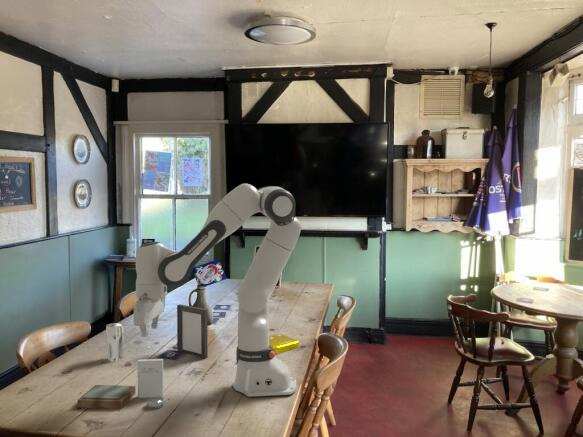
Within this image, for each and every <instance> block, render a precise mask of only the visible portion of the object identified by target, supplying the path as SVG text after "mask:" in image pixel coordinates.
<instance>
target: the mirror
mask: <svg viewBox="0 0 583 437" xmlns="http://www.w3.org/2000/svg"><path fill="white" fill-rule="evenodd" d="M135 395H136V385H134V386H133V385H111V384H110V385H109V384H106V385H105V384H95V385H94V386H92V387H90V389H89V390H87V391H86V393H84V394H83V395H82V396H80V398H78V399H77V408H78V409H106V410H107V409H109V410H122V409H123V408H124V406H126V404H127V403H128V402H129V401H130V400H131V399H132V398H133V397H134V396H135Z"/></svg>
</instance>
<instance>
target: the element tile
mask: <svg viewBox="0 0 583 437" xmlns="http://www.w3.org/2000/svg"><path fill="white" fill-rule="evenodd" d="M269 346H271V347H272V348H273V346H274V349H275V355H278V354H282V353H285V352H289V351H292V350H295V349H298V348H300V341H299V340H298V339H295V338H293V337H289V336H287V335H284V334H281V333H277V334H273V335H269Z"/></svg>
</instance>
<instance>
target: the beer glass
mask: <svg viewBox="0 0 583 437" xmlns="http://www.w3.org/2000/svg"><path fill="white" fill-rule="evenodd" d="M105 326H106V327H105V342H106V348H107V352H108V354H107V355H108V356H107V362H109V363H118V362H120V361H123V359H124V356H123V347H124V342H125V341H124V340H125V328H124V323H121V322H115V323H114V322H113V323H109V324H106V325H105Z"/></svg>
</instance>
